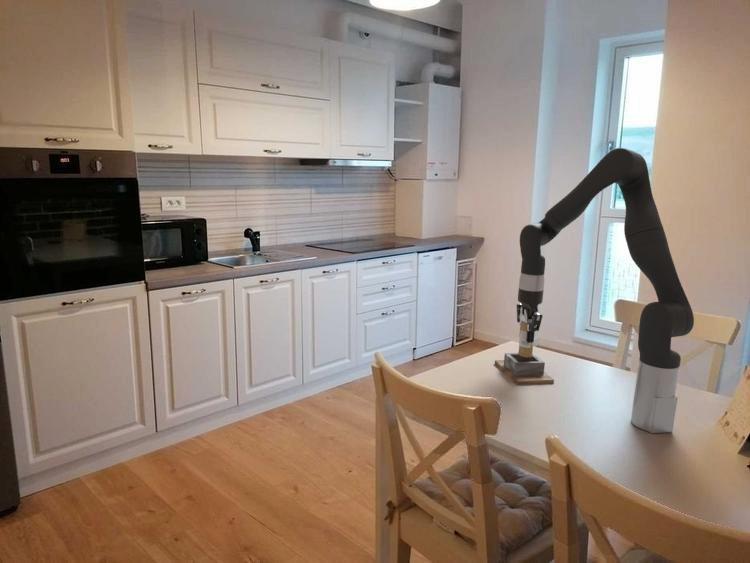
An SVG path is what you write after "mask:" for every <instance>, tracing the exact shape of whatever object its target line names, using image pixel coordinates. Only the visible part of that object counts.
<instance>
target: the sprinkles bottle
mask: <svg viewBox="0 0 750 563" xmlns="http://www.w3.org/2000/svg"><path fill="white" fill-rule="evenodd" d="M529 321H532V319H529ZM530 326H531V324H530ZM527 331H528V330H527V324H526V322H525V315H524V314H522V315H521V329H520V328H519V342H518V352H517V353H518V355H520V356H522V357H532V355H533V354H534V353H533V349H534V342H533V343H528V342H527V341H526V338H527ZM532 353H533V354H532Z"/></svg>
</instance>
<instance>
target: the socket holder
mask: <svg viewBox="0 0 750 563" xmlns="http://www.w3.org/2000/svg"><path fill="white" fill-rule="evenodd" d="M532 354H533V355H532V357H522V356H520V355H518V352H507V353H504V358H503V360H502V359H499V360H498V359H497V360H494V365H495V366H496V367H498V368H499V370H501V371H502V372H503V373H504V374H505V375H506V376H507V377H508V378H509V379H510V380H511V381H512V382H514V384H516V385H517V386H518V385H519V386H521V385H543V383H549V384H554V383H555V379H554V378H553V377H551V375H549V374H548V373H547V372H545V367H546V366H545V364H546V363H545V361H544V360H542V359H541V358H539V357H538V356H537V355H535V354H534V353H533V352H532Z"/></svg>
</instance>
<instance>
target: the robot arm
mask: <svg viewBox="0 0 750 563" xmlns="http://www.w3.org/2000/svg"><path fill="white" fill-rule="evenodd" d="M648 168H649V167H648V164H647V160H646V159H645V158H644V156H643V155H642V154H640V153H638V152H636V151H633V150H632V149H629V148H627V147H616V148H613V149H612V150H610V151H608V152H607V153H605V155H604V156H603V157H602V158H601V159H600V160H599V161H598V162H597V164H596V165H595V166H594V167H593V168H592V169H591V170H590V171H589V173H588V174H587V175H586V176H585V177H584V178H583V179H582V180H581V181H580V182H579V183H578V184H577V185H576V186H575V187H574V188H573V189H572V190H571V191H570V192H569V193H567V195H565V196H564V197H563V198H562V199H561V200H559V201H558V202H556V204H554V205H553V206H551V208H549V209H548V211H546V213H544V214H545V215H544V218H543V219H542V220H540V221H539V222H536V223H530V224H526V225H525V226H524V227H522V229H521V232H520V234H519V247H520V255H521V266H520V276H519V282H518V294H517V301H518V302H519V303H516V321H517V323H518V326H520V328H519V330H520V329H521V315H522V314H524V315H525V322H526V324H527V330H528V331H527V338H526V341H527V342H528V343H533V342H534V341H535V334H536V333H535V332H539V331H540V327H541V324H542V319H543V314H542V313H539V308H538V306H539V305H541V304H542V303H543V300H544V290H545V289H544V288H545V272H546V271H545V270H546V257H545V255H542V253H541V252H542V251H541V247H542V246H545V245H547V244H549V243H551V241H553V240H554V239H555V238H556V237H557V236H558V235H559V234H560V232H561V231H562V230H563V229H565V228H567V226H569V225H570V224H572V223H573V222H574V221H575V220H576V219H578V218H579V217H580V216H582V214H583V213H584V212H585V211H586V210H587V208H588V207H589V205H590V204H591V202H592V201H593V199H595V197H596V196H597V195H598V194H599V193H601V192H602V191H604V190H605V189H607V188H608V187H610V186H611V185H614V184H617V185H618V187H619V189H620V192H621V194H622V198H623V200H624V205H625V215H624V216H625V218H624V225H623V227H624V228H623V229H624V230H623V231H624V238H625V241H626V246H627V249H628V252H629V254H630V255H629V256H630V257H631V260H632V261H633V262H634V264H635V265H636V266H637V267H638V268H639V270H640V271H641V272H642V273H643V274H644V275H645V277H646V278H647V279H648V281H649V283H651V285H652V286H653V288H654V291H655V294H656V297H657V301H651V302H649V303H647V304H646V305H645V306H644V308H642V311H641V313H640V316H639V317H640V318H639V324H638V325H639V327H638V337H637V338H638V339H637V349H638V352H639V358H638V366H637V374H636V379H635V387H634V395H633V401H632V402H633V403H632V409H631V410H632V411H631V418H630V422H631V424H632V425H633V426H635V427H636V428H638V429H640V430H644V431H646V432H648V433H650V434H659V433H660V434H661V433H662V434H663V433H672V432H673V430H674V423H675V417H676V411H677V405H678V397H677V396H676V392H677V391H676V390H677V386H678V385H677V384H678V378H679V373H680V372H679V371H680V367H681V360H682V359H681V358H682V357H681V354H680V353H679V352H677V351H675V350H673V349H672V348H671V346H672V344H671V343H672V338H678V337H682V336H683V337H684V336H687V335H688V334H690V333H691V331H692V330H693V328H694V323H695V316H694V312H693V309H692V307H691V304H690V301H689V299H688V296H687V295H686V291H685V290H684V287H683V285H682V283H681V280H680V278H679V275H678V273H677V269H676V266H675V263H674V260H673V257H672V253H671V250H670V247H669V242H668V240H667V235H666V232H665V229H664V225H663V224H662V221H661V217H660V214H659V211H658V207H657V205H656V201H655V198H654V197H653V193H652V187H651V181H650V174H649V169H648ZM529 319H532V321H529ZM530 324H531V326H530ZM533 344H534V343H533Z"/></svg>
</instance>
